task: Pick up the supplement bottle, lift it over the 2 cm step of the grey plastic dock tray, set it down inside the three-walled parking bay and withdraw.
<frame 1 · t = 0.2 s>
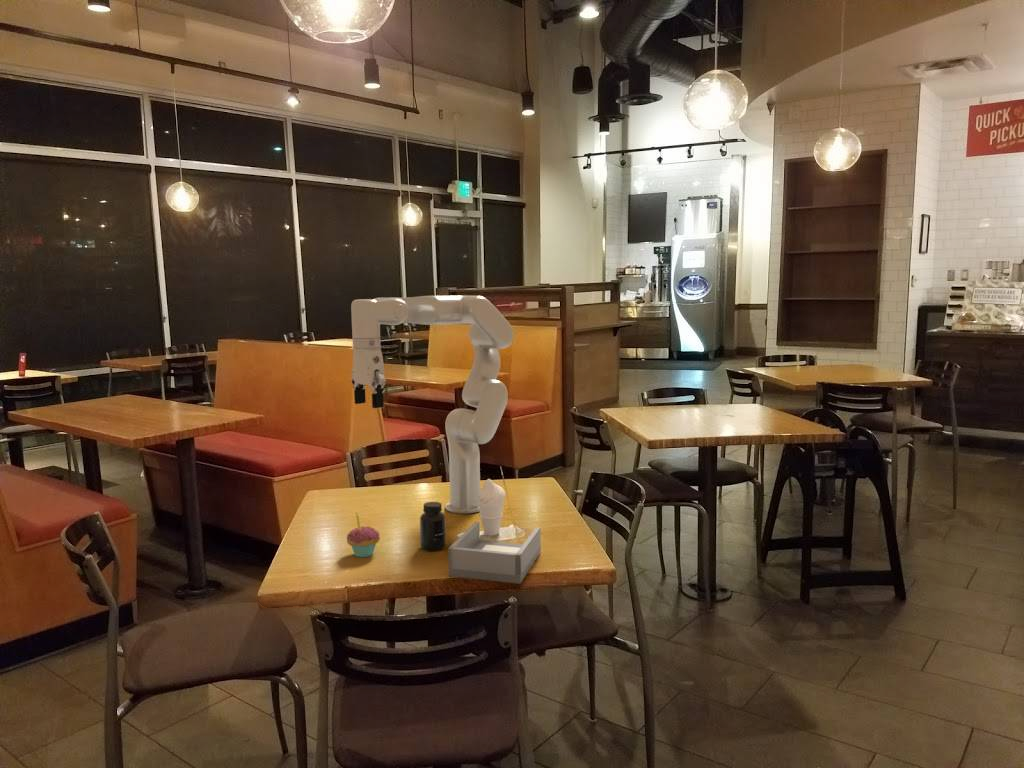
hand: (368, 405, 201), 37 cm above the table, tool pointing down, fingers open, 9 cm apart
dock: (496, 564, 182), on the table
supplement bottle: (433, 547, 194), on the table
cupcake: (363, 554, 190), on the table
soft serve ice cream cone: (491, 534, 204), on the table
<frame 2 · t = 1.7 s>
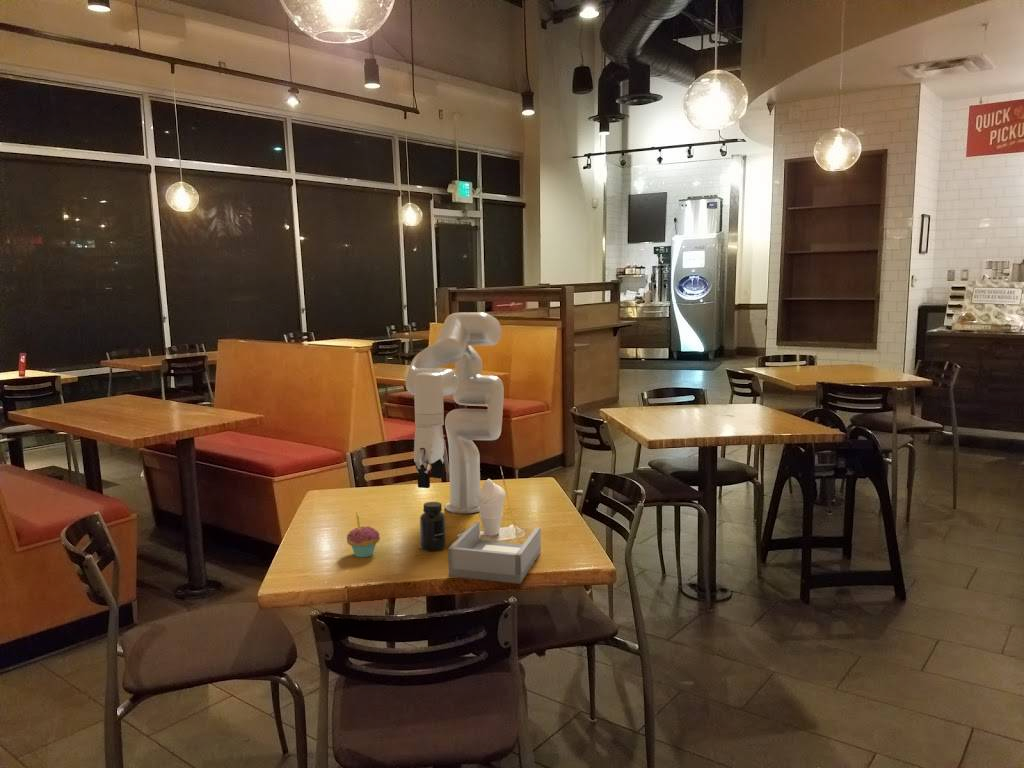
hand: (431, 482, 191), 18 cm above the table, tool pointing down, fingers open, 9 cm apart
nothing on the table moved.
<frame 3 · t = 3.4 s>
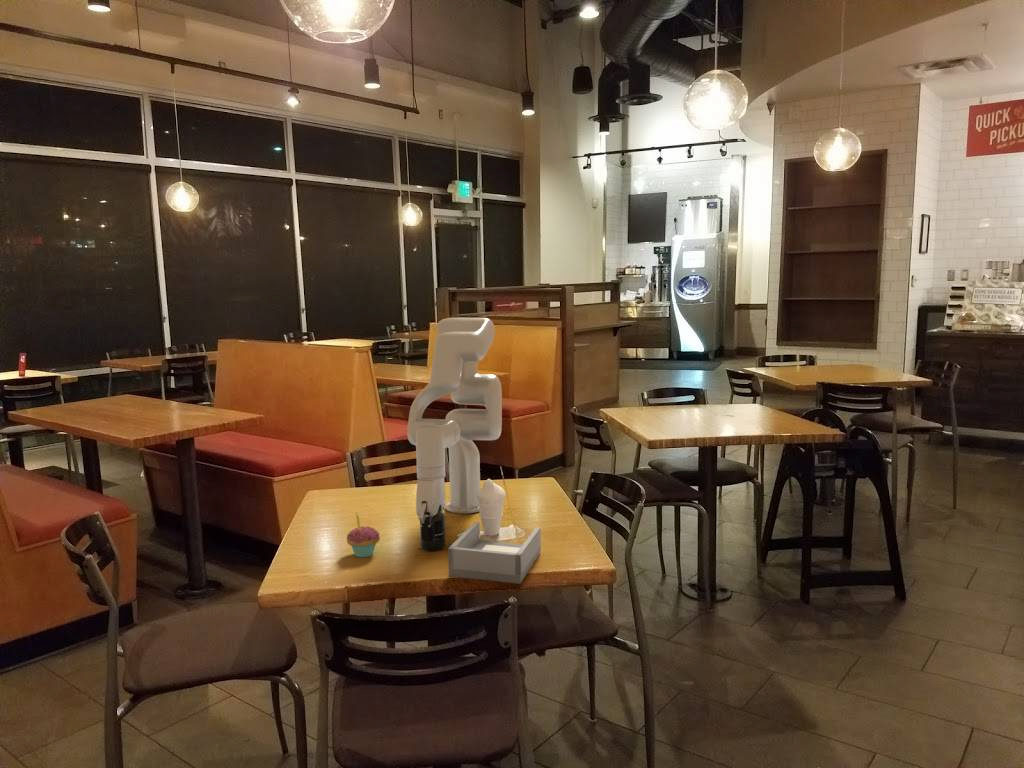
hand: (433, 535, 194), 3 cm above the table, tool pointing down, fingers closed on supplement bottle, 6 cm apart
supplement bottle: (433, 547, 194), on the table, touching gripper
everything else where it was.
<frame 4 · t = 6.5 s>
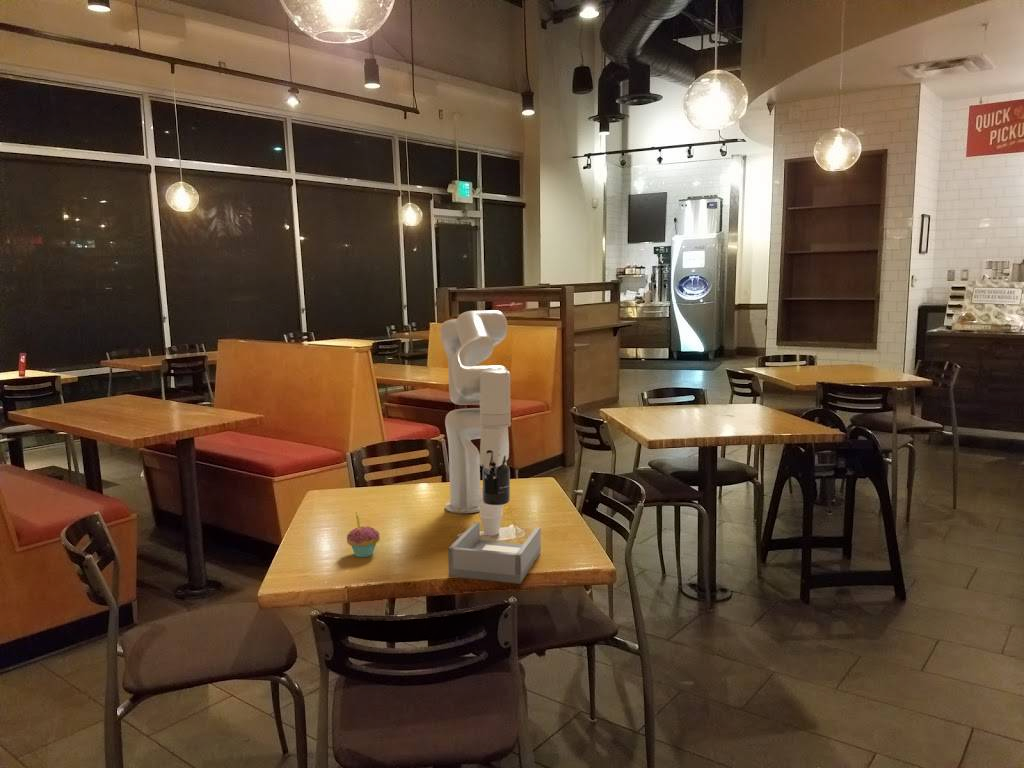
hand: (496, 489, 180), 19 cm above the table, tool pointing down, fingers closed on supplement bottle, 6 cm apart
supplement bottle: (496, 502, 181), point 16 cm above the table, touching gripper
everything else where it was.
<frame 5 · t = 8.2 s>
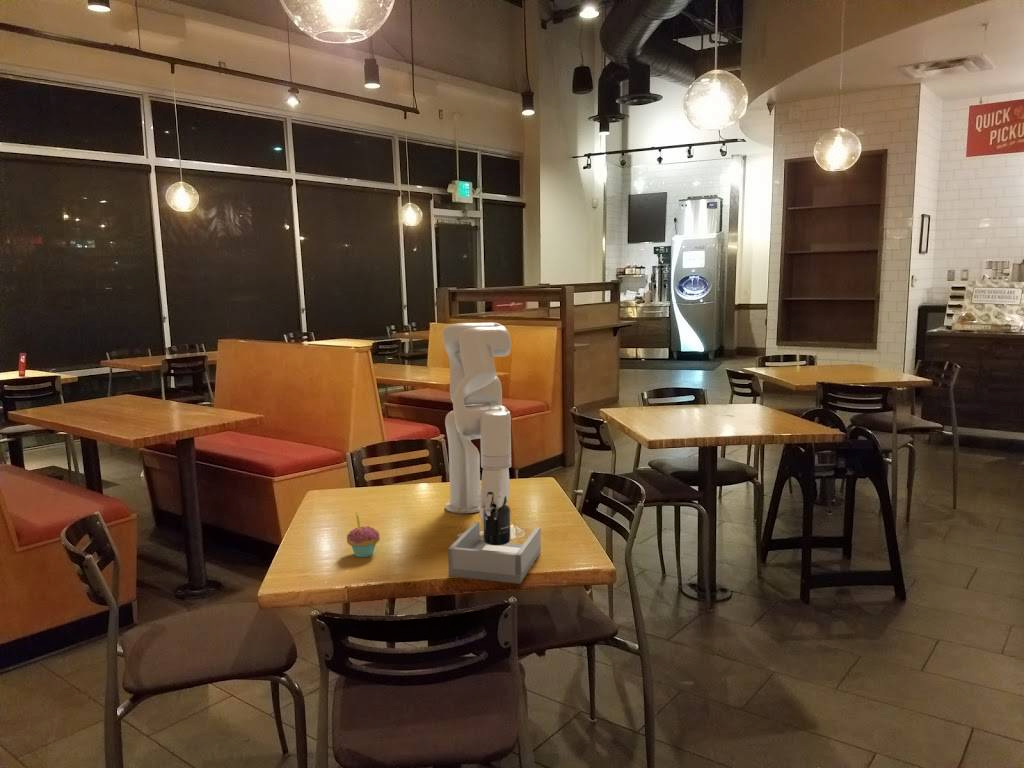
hand: (497, 529, 182), 9 cm above the table, tool pointing down, fingers closed on supplement bottle, 6 cm apart
supplement bottle: (497, 542, 182), point 5 cm above the table, touching gripper
everything else where it was.
when the fingers open (7 cm above the table, at t = 9.6 s): supplement bottle drops 2 cm, resting on dock.
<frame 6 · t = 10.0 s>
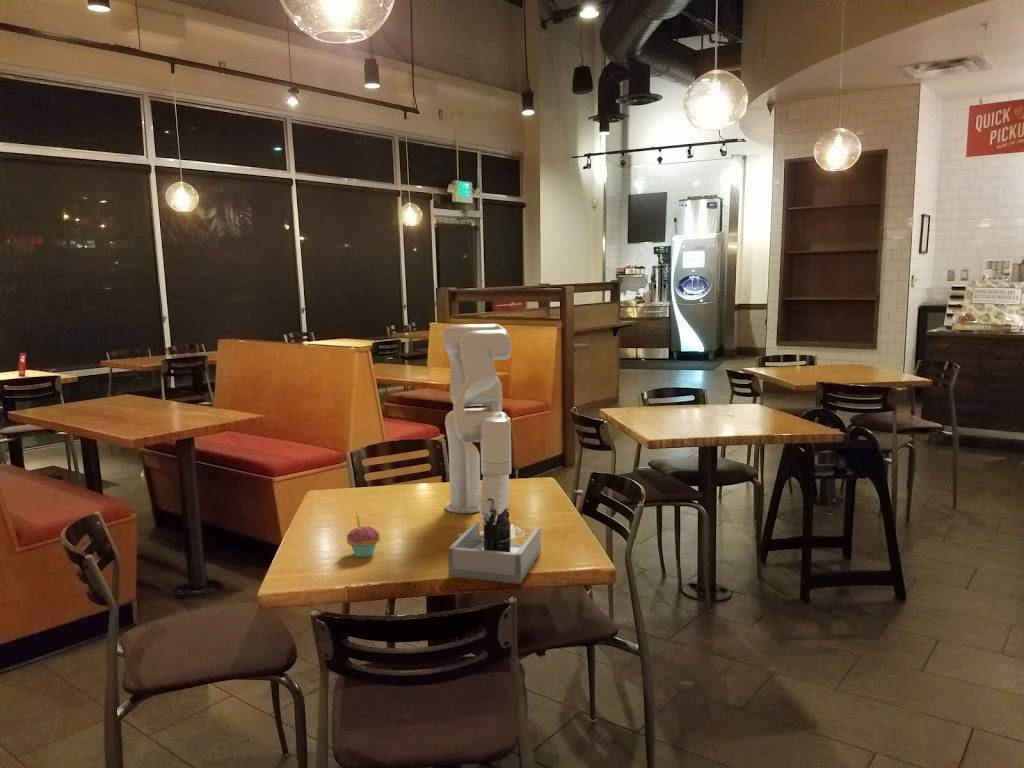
hand: (497, 533, 182), 8 cm above the table, tool pointing down, fingers open, 9 cm apart
supplement bottle: (497, 554, 183), point 2 cm above the table, touching dock
everything else where it was.
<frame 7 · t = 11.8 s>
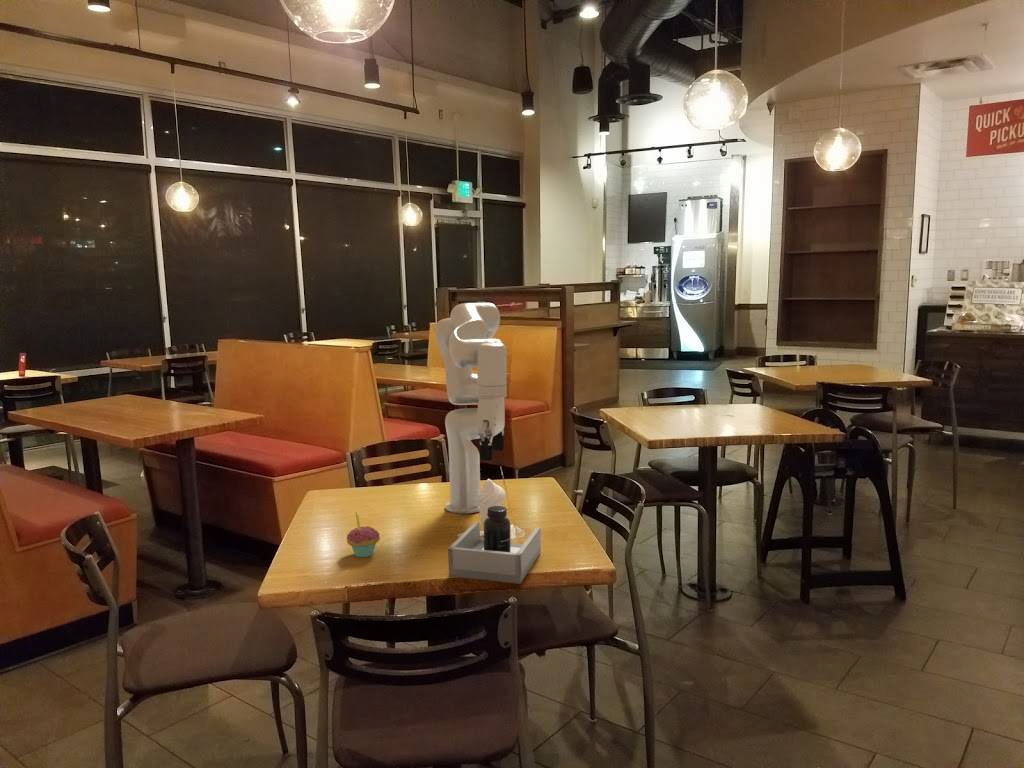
hand: (492, 454, 189), 26 cm above the table, tool pointing down, fingers open, 9 cm apart
nothing on the table moved.
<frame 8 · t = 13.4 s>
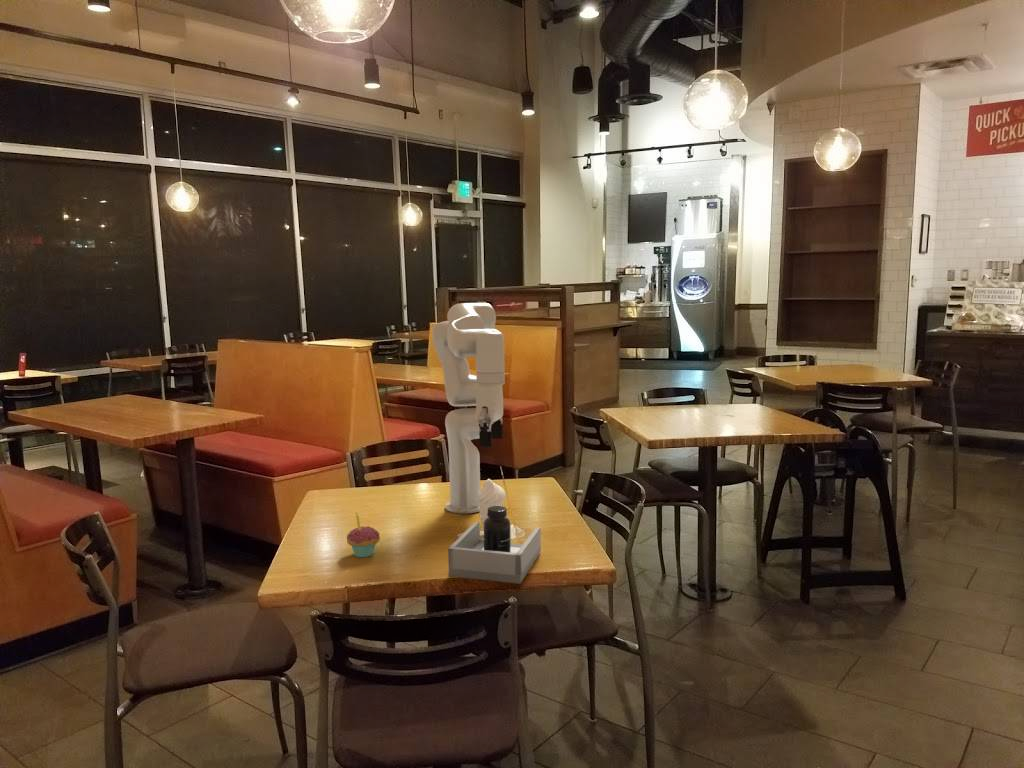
hand: (491, 442, 192), 28 cm above the table, tool pointing down, fingers open, 9 cm apart
nothing on the table moved.
at the end: supplement bottle inside the target area on the dock (0.9 cm from its centre), point 1.9 cm above the dock's base; supplement bottle tilted 0°; the gripper is holding nothing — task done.
